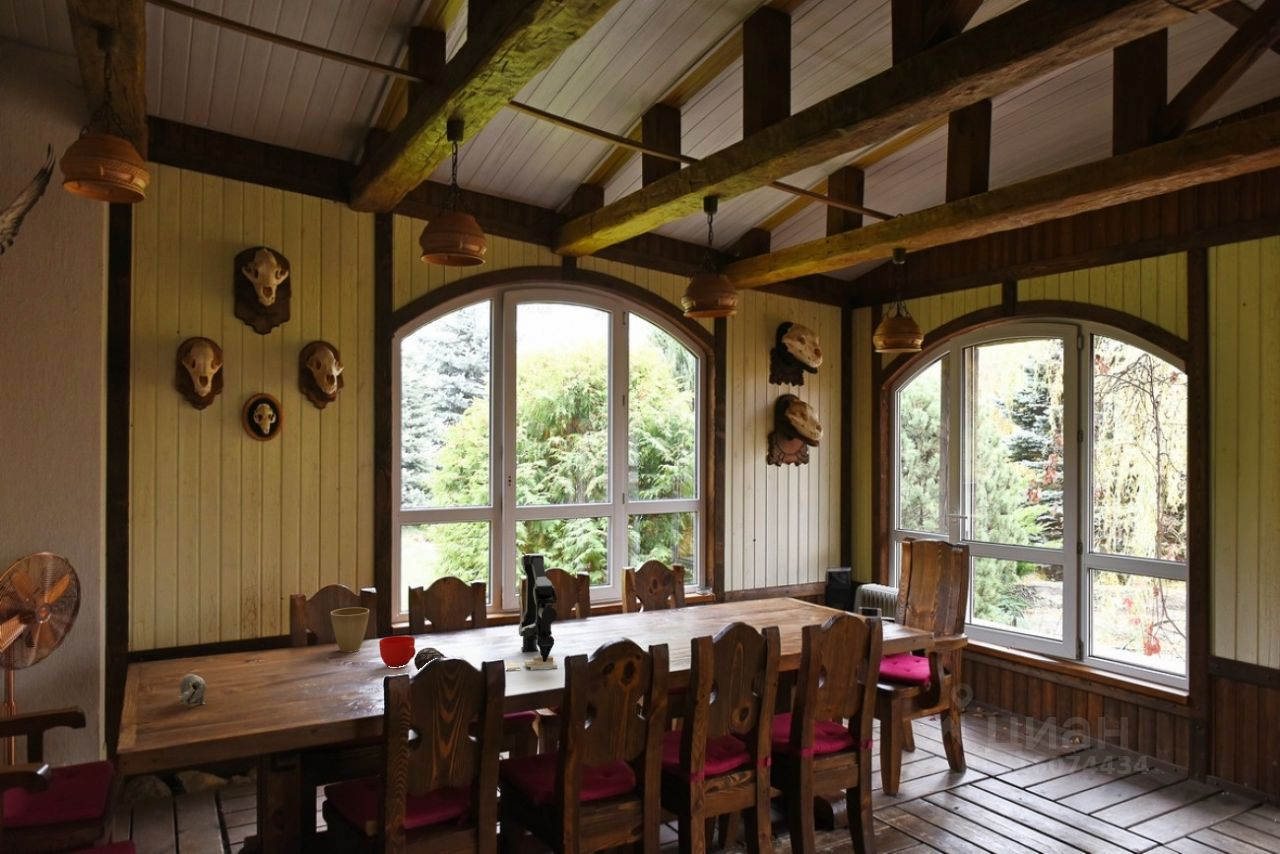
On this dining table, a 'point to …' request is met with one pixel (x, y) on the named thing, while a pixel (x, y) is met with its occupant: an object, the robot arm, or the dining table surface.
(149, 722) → the dining table surface
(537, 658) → the beige flat block
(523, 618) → the robot arm
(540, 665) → the rest
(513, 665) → the tile
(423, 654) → the pine cone
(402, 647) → the ceramic cup
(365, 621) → the plant pot
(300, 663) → the dining table surface
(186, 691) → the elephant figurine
